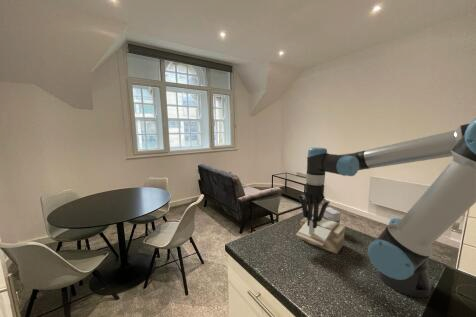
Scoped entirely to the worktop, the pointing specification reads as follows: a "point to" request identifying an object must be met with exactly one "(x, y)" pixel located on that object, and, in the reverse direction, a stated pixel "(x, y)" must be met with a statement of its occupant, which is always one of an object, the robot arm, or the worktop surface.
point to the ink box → (332, 215)
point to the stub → (317, 237)
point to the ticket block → (335, 237)
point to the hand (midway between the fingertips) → (311, 233)
